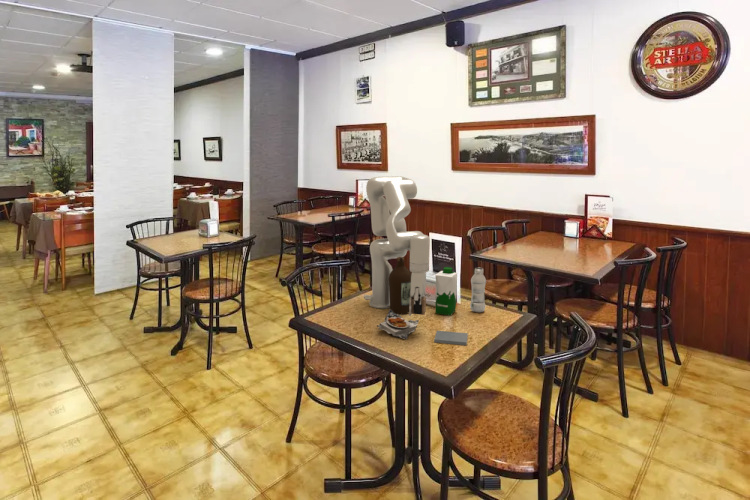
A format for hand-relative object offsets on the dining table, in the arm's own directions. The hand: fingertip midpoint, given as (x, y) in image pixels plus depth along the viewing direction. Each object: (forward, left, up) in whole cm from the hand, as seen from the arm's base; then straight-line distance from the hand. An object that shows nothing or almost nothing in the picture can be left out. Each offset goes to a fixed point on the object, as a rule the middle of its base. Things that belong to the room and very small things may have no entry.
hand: (418, 311), depth 175 cm
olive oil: (-12, +24, -9) cm, 28 cm away
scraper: (0, 0, -1) cm, 1 cm away
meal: (-2, 0, -7) cm, 7 cm away
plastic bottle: (+22, +31, -9) cm, 39 cm away
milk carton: (+8, +27, -9) cm, 30 cm away
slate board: (+13, -3, -9) cm, 16 cm away
